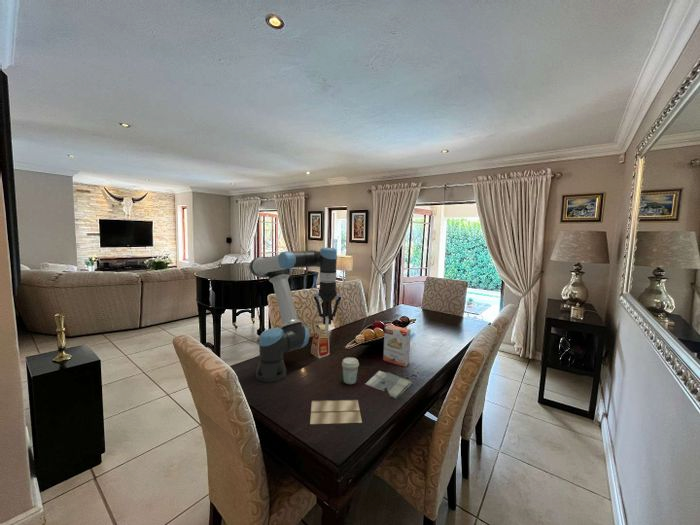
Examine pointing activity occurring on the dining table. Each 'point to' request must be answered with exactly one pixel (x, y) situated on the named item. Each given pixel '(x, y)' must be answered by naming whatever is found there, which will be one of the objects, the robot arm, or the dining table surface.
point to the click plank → (335, 405)
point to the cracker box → (396, 345)
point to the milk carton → (320, 342)
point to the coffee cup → (350, 370)
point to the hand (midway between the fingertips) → (326, 330)
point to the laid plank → (335, 417)
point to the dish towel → (389, 383)
